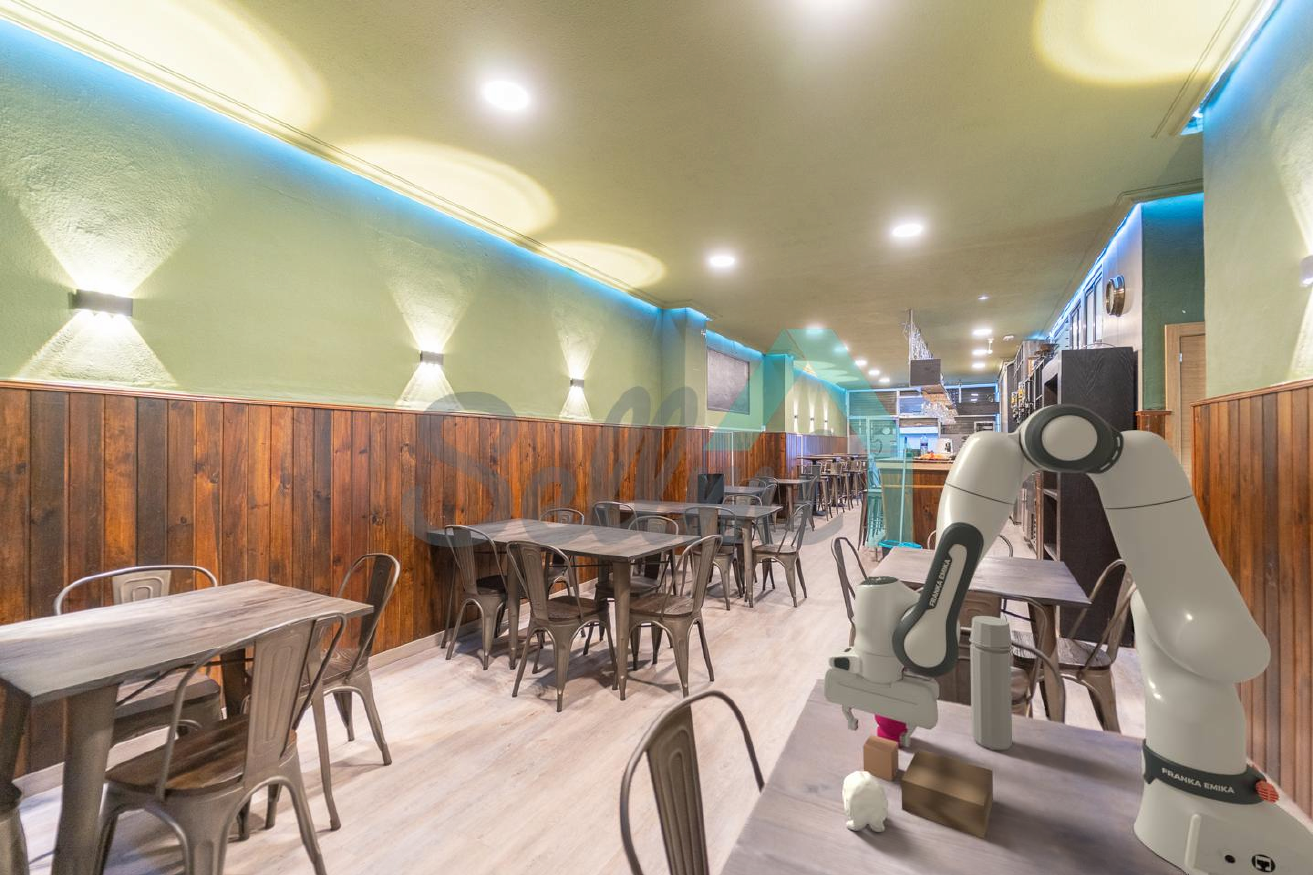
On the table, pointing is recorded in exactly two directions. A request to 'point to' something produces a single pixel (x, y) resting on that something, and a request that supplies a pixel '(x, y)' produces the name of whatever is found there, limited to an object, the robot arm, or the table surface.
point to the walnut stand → (948, 792)
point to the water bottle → (991, 682)
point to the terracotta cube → (881, 757)
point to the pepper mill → (890, 728)
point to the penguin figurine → (864, 801)
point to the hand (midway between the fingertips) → (878, 736)
